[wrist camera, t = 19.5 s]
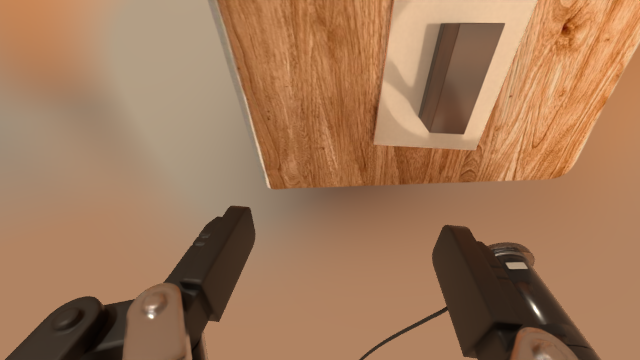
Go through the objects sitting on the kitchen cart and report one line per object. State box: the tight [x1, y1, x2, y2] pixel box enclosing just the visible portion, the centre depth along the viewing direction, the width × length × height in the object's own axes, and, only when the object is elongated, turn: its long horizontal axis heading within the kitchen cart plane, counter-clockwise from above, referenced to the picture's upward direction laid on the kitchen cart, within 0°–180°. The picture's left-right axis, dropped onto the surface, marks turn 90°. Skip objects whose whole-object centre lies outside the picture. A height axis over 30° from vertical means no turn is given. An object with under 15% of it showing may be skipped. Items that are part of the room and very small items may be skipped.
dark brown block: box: [418, 23, 505, 135], centre depth 27 cm, size 11×4×6 cm, turn 179°
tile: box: [373, 0, 538, 150], centre depth 30 cm, size 20×15×2 cm
